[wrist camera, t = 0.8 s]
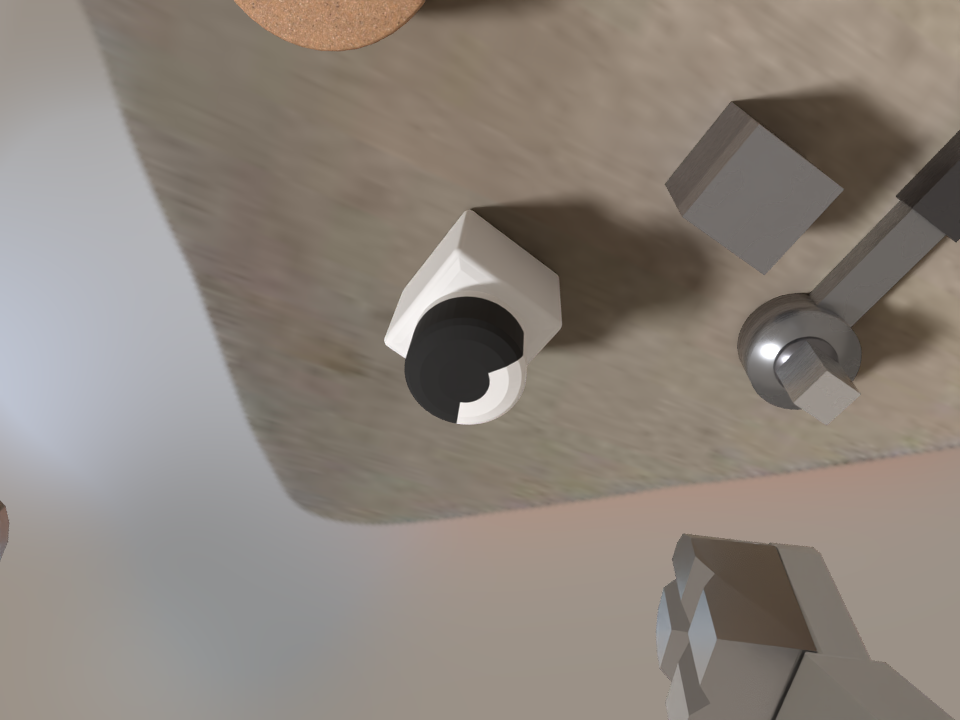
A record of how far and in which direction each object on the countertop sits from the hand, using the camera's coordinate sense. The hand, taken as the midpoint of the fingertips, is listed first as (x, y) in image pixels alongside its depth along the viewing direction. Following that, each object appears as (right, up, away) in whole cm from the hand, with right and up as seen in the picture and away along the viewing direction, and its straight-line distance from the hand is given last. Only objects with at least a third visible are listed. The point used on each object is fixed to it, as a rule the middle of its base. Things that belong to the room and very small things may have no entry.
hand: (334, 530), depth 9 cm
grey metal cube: (+16, +13, +34) cm, 40 cm away
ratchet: (+25, +9, +36) cm, 45 cm away
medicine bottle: (+2, +7, +39) cm, 39 cm away
